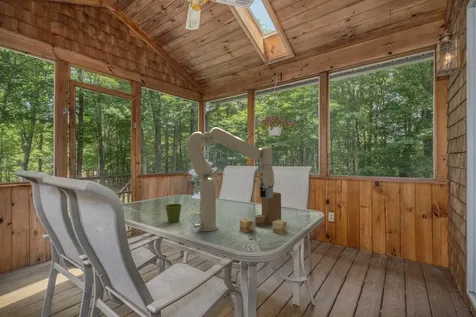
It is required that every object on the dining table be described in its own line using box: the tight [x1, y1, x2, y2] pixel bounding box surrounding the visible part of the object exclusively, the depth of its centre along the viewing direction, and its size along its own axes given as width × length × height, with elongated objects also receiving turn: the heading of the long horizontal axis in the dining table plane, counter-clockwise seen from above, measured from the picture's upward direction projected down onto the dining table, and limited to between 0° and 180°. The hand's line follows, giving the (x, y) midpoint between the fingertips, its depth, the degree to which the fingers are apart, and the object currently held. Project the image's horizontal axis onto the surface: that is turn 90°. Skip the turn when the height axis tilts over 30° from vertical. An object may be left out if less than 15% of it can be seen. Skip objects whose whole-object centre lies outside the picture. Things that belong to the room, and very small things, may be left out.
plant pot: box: [164, 203, 183, 223], centre depth 163 cm, size 12×12×11 cm
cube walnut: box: [254, 214, 267, 228], centre depth 151 cm, size 6×6×6 cm
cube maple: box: [272, 219, 288, 235], centre depth 137 cm, size 6×6×6 cm
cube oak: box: [239, 218, 255, 233], centre depth 140 cm, size 6×6×6 cm
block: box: [261, 191, 282, 225], centre depth 158 cm, size 10×10×20 cm
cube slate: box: [259, 186, 274, 199], centre depth 145 cm, size 6×6×6 cm
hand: (266, 196), depth 145 cm, fingers closed on cube slate, 6 cm apart
